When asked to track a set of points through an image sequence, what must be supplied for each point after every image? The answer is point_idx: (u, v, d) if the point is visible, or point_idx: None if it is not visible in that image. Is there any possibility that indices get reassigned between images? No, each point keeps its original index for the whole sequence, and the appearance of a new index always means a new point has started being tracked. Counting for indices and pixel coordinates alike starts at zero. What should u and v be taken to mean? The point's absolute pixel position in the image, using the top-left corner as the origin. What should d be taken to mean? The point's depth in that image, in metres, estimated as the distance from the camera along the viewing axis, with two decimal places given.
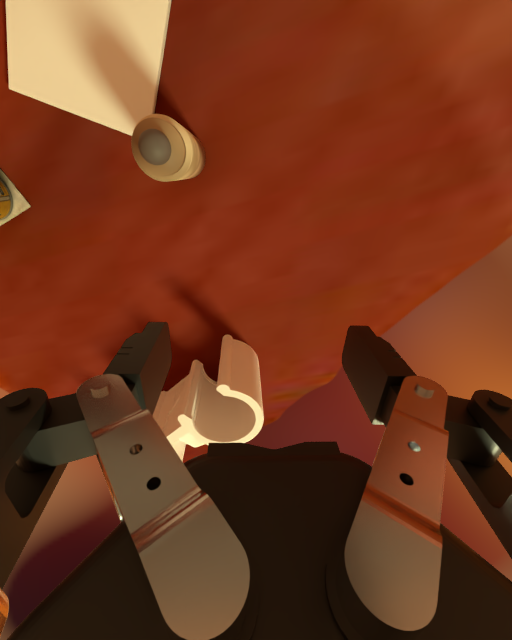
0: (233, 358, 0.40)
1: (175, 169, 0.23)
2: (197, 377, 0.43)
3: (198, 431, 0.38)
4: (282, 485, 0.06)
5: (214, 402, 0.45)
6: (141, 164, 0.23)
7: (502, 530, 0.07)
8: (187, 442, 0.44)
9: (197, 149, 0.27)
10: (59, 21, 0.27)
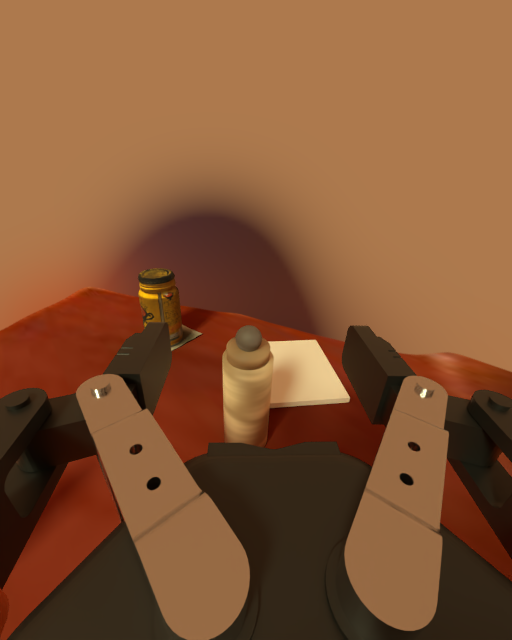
0: None
1: (239, 357, 0.24)
2: None
3: None
4: (282, 485, 0.06)
5: None
6: (231, 340, 0.27)
7: (503, 530, 0.07)
8: None
9: (260, 408, 0.27)
10: (281, 357, 0.44)
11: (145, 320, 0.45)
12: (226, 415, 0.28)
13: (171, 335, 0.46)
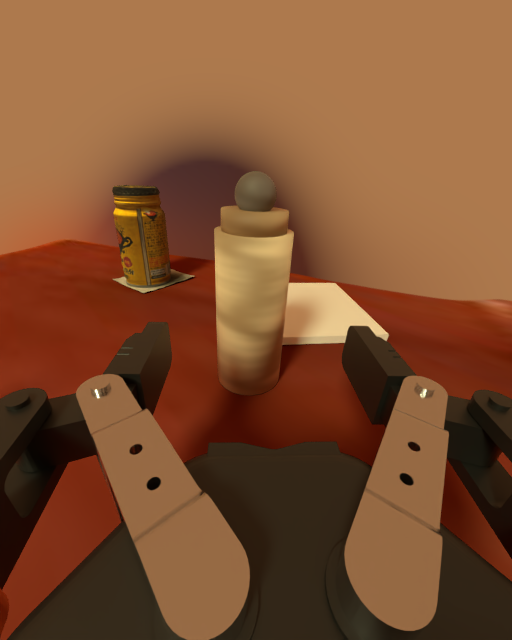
0: None
1: (240, 213, 0.15)
2: None
3: None
4: (282, 485, 0.06)
5: None
6: (228, 206, 0.17)
7: (503, 530, 0.07)
8: None
9: (271, 312, 0.18)
10: (294, 296, 0.35)
11: (122, 249, 0.35)
12: (220, 330, 0.19)
13: (155, 271, 0.37)
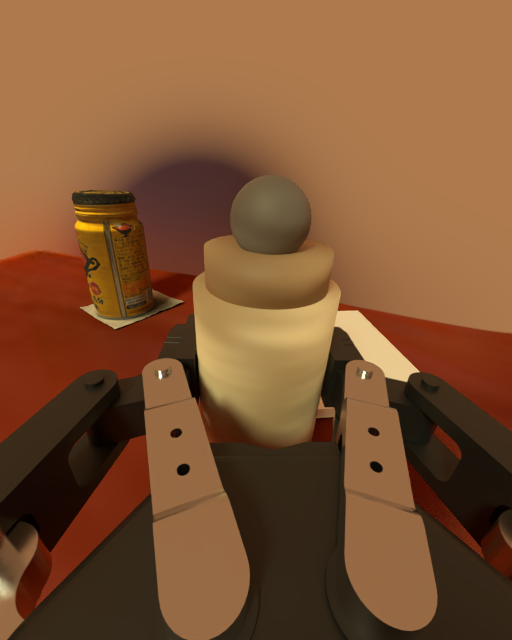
0: None
1: (240, 262, 0.07)
2: None
3: None
4: (282, 485, 0.06)
5: None
6: (218, 238, 0.10)
7: (452, 501, 0.08)
8: None
9: (298, 428, 0.10)
10: None
11: (88, 272, 0.27)
12: None
13: (132, 299, 0.29)
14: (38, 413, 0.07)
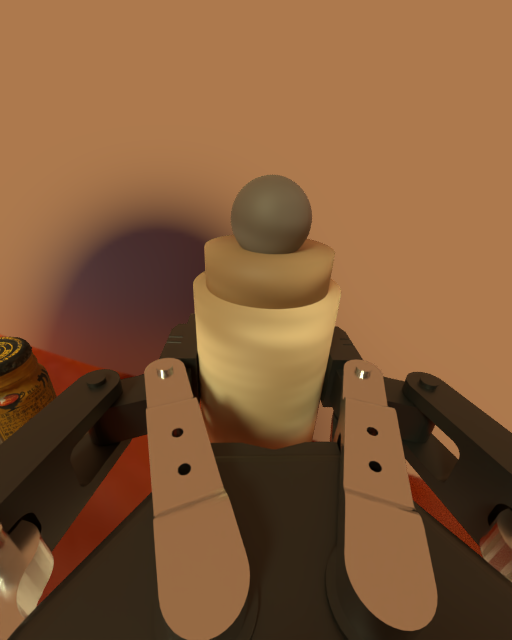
0: None
1: (241, 261, 0.07)
2: None
3: None
4: (282, 485, 0.06)
5: None
6: (219, 238, 0.10)
7: (451, 501, 0.08)
8: None
9: (298, 427, 0.10)
10: None
11: None
12: None
13: None
14: (41, 412, 0.07)
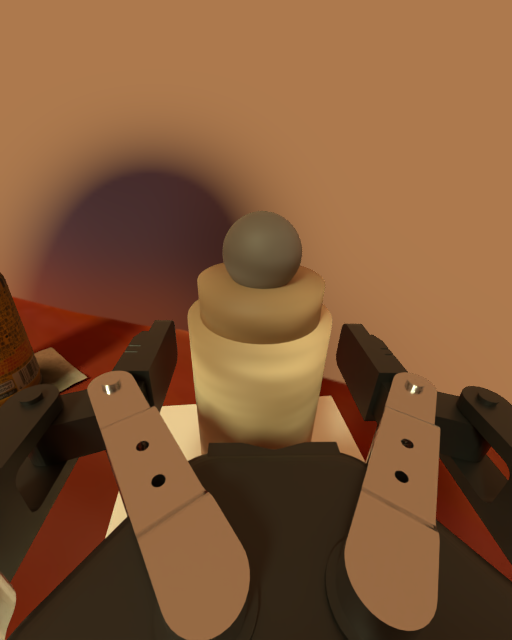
0: None
1: (232, 300, 0.08)
2: None
3: None
4: (282, 485, 0.06)
5: None
6: (212, 268, 0.10)
7: (494, 525, 0.07)
8: None
9: None
10: None
11: None
12: None
13: None
14: None
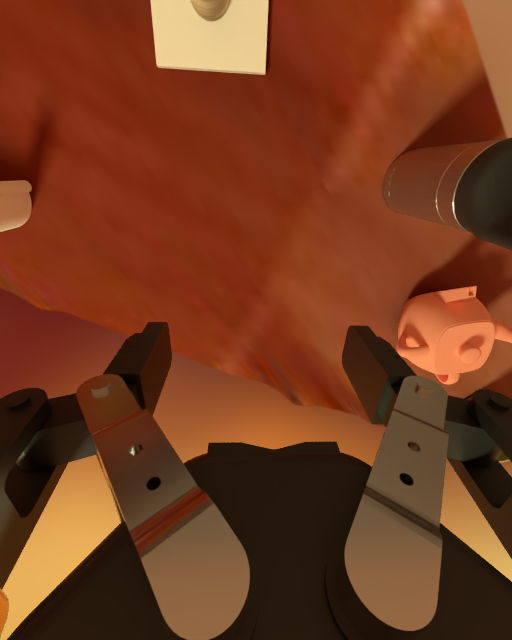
0: (3, 197, 0.39)
1: None
2: None
3: None
4: (282, 485, 0.06)
5: None
6: None
7: (502, 530, 0.07)
8: None
9: None
10: None
11: None
12: None
13: None
14: None
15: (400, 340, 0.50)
